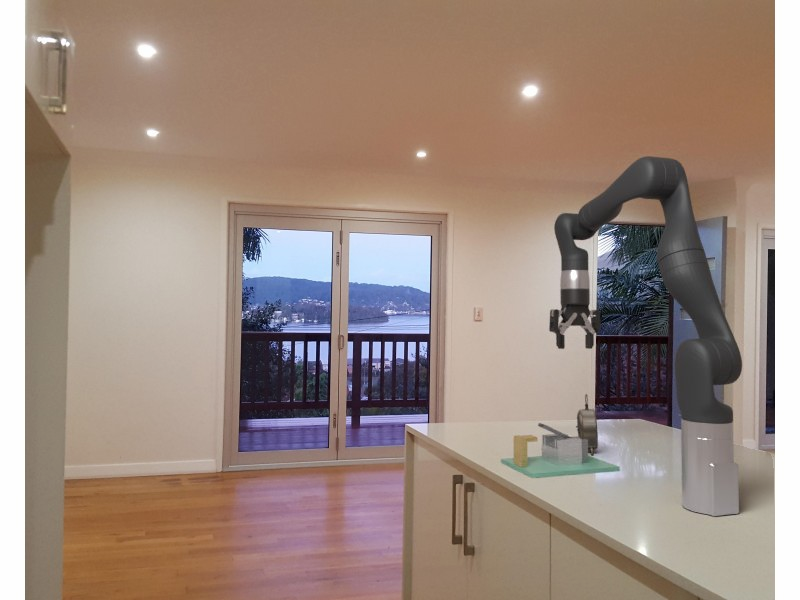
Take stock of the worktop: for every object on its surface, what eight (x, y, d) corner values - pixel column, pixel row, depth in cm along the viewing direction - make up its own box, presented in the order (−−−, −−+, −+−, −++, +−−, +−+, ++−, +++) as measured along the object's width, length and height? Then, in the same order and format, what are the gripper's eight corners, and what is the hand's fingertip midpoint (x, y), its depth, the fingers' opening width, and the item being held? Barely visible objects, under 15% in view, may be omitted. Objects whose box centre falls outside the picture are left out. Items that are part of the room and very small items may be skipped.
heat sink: (592, 464, 154) (592, 438, 154) (558, 466, 151) (558, 440, 151) (573, 457, 162) (573, 432, 162) (541, 459, 159) (541, 434, 159)
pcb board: (619, 470, 152) (619, 466, 152) (532, 477, 145) (532, 473, 145) (581, 456, 167) (581, 453, 167) (501, 462, 160) (501, 458, 160)
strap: (583, 447, 156) (585, 443, 156) (544, 428, 153) (545, 424, 153) (576, 444, 159) (578, 441, 160) (537, 426, 156) (539, 422, 156)
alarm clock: (599, 456, 167) (598, 396, 168) (578, 455, 168) (577, 395, 169) (594, 448, 178) (594, 391, 179) (575, 447, 179) (575, 391, 180)
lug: (538, 466, 152) (538, 437, 152) (521, 467, 150) (521, 438, 151) (530, 462, 156) (530, 434, 156) (513, 463, 154) (513, 435, 154)
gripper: (559, 286, 160) (559, 349, 159) (606, 287, 164) (606, 349, 164) (544, 288, 167) (544, 348, 167) (589, 289, 171) (589, 347, 171)
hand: (575, 348), depth 165 cm, fingers open, 8 cm apart
